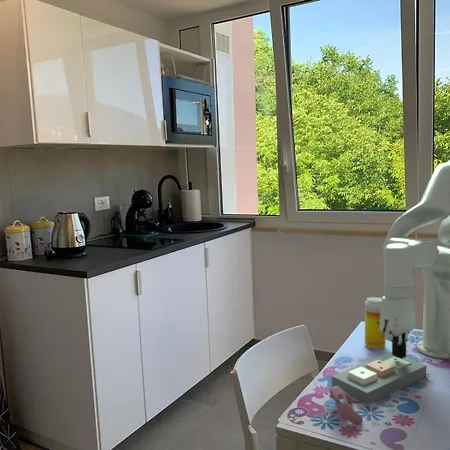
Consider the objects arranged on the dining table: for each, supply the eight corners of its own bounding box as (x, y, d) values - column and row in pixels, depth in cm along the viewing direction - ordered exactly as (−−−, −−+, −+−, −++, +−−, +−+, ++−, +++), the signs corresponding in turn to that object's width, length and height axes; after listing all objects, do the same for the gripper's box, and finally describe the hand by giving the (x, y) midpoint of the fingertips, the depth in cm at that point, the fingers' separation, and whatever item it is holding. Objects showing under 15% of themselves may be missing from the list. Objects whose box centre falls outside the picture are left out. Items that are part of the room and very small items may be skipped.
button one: (360, 377, 120) (360, 366, 119) (376, 384, 116) (377, 373, 115) (347, 383, 117) (347, 371, 117) (363, 390, 113) (363, 379, 112)
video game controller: (336, 409, 111) (323, 384, 110) (353, 400, 110) (340, 376, 110) (346, 433, 101) (332, 406, 100) (365, 424, 101) (351, 397, 100)
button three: (394, 366, 128) (394, 356, 127) (410, 373, 124) (410, 362, 123) (382, 371, 125) (382, 361, 125) (398, 378, 121) (399, 367, 120)
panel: (390, 362, 132) (390, 352, 131) (426, 376, 123) (426, 365, 122) (331, 387, 118) (331, 375, 118) (367, 404, 109) (367, 392, 109)
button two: (378, 370, 124) (378, 359, 123) (394, 376, 120) (394, 365, 119) (365, 375, 121) (366, 364, 120) (381, 382, 117) (382, 371, 116)
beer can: (386, 350, 140) (387, 302, 138) (365, 349, 141) (366, 301, 139) (383, 342, 145) (384, 296, 143) (363, 341, 147) (364, 296, 145)
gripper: (403, 281, 129) (403, 344, 132) (368, 293, 120) (369, 360, 123) (428, 287, 122) (428, 352, 125) (393, 300, 114) (393, 370, 117)
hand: (399, 356), depth 124 cm, fingers closed
